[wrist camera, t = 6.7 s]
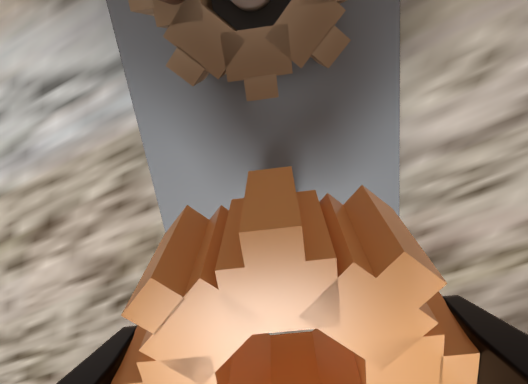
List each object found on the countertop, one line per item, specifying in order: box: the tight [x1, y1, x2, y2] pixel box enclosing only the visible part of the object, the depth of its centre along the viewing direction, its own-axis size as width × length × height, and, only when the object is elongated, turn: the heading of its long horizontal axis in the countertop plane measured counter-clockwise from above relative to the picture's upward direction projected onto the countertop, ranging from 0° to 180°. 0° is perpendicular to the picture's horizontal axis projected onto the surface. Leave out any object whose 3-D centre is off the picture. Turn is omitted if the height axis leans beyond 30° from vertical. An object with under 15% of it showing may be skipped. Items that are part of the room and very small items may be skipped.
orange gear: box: [111, 166, 480, 384], centre depth 9 cm, size 7×7×3 cm
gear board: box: [106, 0, 400, 232], centre depth 14 cm, size 15×10×4 cm, turn 7°
